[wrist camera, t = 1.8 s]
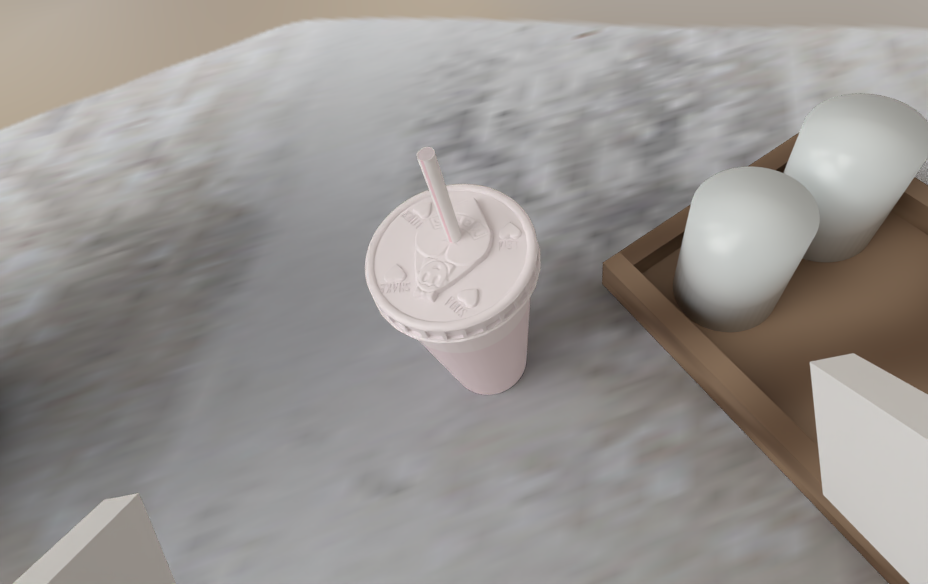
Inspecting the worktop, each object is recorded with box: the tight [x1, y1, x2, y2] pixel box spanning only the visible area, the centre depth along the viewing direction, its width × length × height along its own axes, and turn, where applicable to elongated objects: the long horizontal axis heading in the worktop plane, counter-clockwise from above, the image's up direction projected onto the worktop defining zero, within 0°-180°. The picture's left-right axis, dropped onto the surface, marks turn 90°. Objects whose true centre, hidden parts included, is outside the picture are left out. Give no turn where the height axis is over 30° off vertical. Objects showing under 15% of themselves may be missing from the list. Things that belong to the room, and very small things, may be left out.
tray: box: [602, 133, 928, 584], centre depth 25 cm, size 20×14×2 cm
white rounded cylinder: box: [673, 167, 820, 332], centre depth 25 cm, size 5×5×6 cm
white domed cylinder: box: [783, 93, 928, 262], centre depth 26 cm, size 5×5×6 cm
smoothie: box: [365, 147, 541, 395], centre depth 23 cm, size 6×6×14 cm
